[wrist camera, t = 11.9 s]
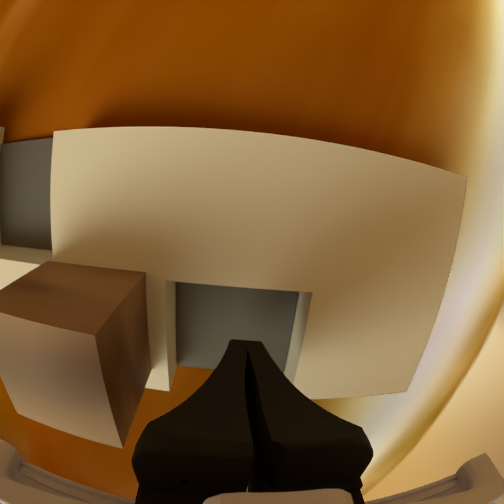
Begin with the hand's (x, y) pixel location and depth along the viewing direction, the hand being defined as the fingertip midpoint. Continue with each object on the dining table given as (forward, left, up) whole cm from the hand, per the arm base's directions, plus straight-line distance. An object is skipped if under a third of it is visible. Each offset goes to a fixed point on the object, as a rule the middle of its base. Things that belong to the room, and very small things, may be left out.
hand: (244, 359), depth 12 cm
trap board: (+3, +5, -3) cm, 7 cm away
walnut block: (+1, +7, -1) cm, 7 cm away
